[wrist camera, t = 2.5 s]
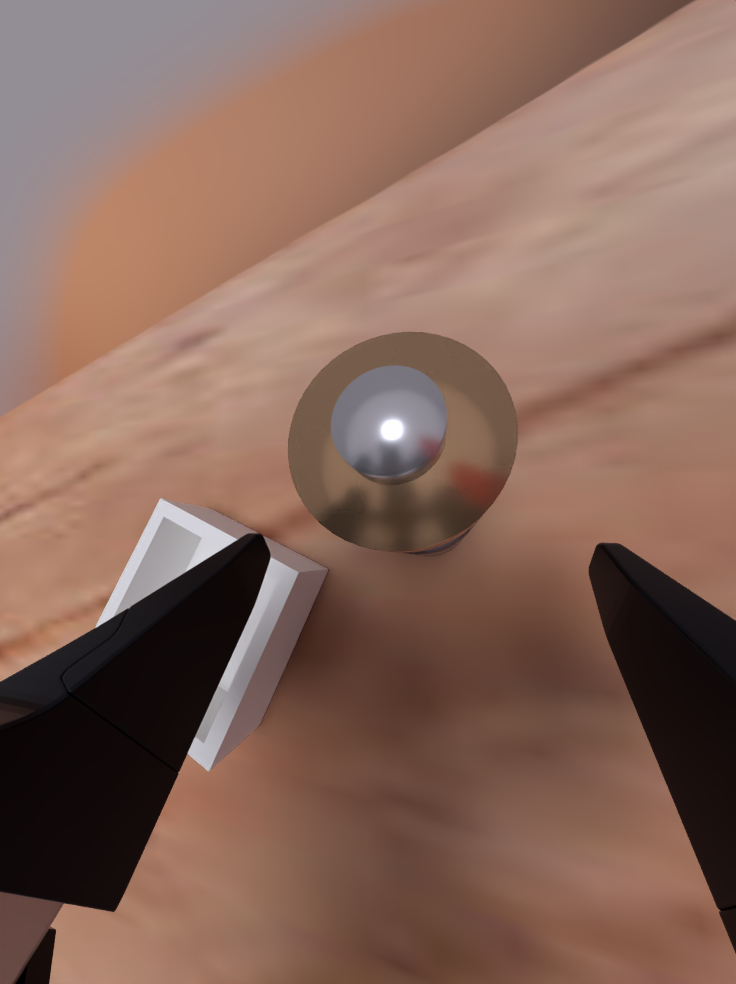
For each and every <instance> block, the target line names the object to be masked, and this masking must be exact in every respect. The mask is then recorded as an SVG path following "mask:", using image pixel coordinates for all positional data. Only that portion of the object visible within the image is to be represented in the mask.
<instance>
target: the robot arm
mask: <svg viewBox="0 0 736 984" xmlns="http://www.w3.org/2000/svg"><path fill="white" fill-rule="evenodd" d="M270 558H271V554H270V550H269V548H268V546H267V543H266V541H265V539H264V536H263V535H262V534H260V533H248V534H246V535H244V536H243V537H241V538H239V539H238V540H236V541H235V542H233V543H231V544H230V545H228V546H227V547H225V548H223V549H222V550H220V551H219V552H217V553H215V554H214V555H212V556H210V557H209V558H207V559H206V560H204V561H202V562H201V563H199V564H198V565H196V566H194V567H193V568H191V569H190V570H188V571H186V572H185V573H183V574H182V575H180V576H178V577H177V578H175V579H174V580H172V581H170V582H169V583H167V584H166V585H164V586H162V587H161V588H159V589H158V590H156V591H154V592H153V593H151V594H150V595H148V596H146V597H145V598H143V599H142V600H140V601H138V602H137V603H135V604H134V605H132V606H131V607H130V608H127V609H125V610H124V611H122V612H121V613H119V614H117V615H116V616H114V617H113V618H111V619H109V620H108V621H106V622H104V623H103V624H101V625H99V626H98V627H96V628H95V629H93V630H91V631H90V632H88V633H86V634H84V635H83V636H81V637H79V638H77V639H76V640H74V641H72V642H70V643H69V644H67V645H65V646H63V647H62V648H60V649H58V650H56V651H54V652H53V653H51V654H49V655H47V656H46V657H44V658H42V659H40V660H38V661H37V662H35V663H33V664H31V665H29V666H28V667H26V668H24V669H22V670H21V671H19V672H17V673H15V674H13V675H12V676H10V677H8V678H6V679H5V680H3V681H1V682H0V984H49V980H50V972H51V965H52V957H53V950H54V942H55V934H56V929H54V928H52V927H50V926H51V924H52V923H53V921H54V919H55V918H56V916H57V914H58V913H59V911H60V909H61V908H62V906H63V904H64V903H65V904H71V905H77V906H82V907H88V908H94V909H99V910H105V911H111V912H114V911H115V910H116V908H117V907H118V905H119V903H120V901H121V899H122V897H123V895H124V893H125V891H126V888H127V886H128V884H129V882H130V880H131V877H132V875H133V873H134V871H135V869H136V866H137V864H138V862H139V860H140V857H141V855H142V853H143V851H144V849H145V846H146V844H147V842H148V840H149V838H150V835H151V833H152V831H153V829H154V827H155V824H156V822H157V820H158V818H159V816H160V813H161V811H162V809H163V807H164V805H165V802H166V800H167V798H168V796H169V794H170V791H171V789H172V787H173V785H174V783H175V780H176V778H177V776H178V772H179V771H180V769H181V767H182V765H183V762H184V760H185V758H186V756H187V754H188V751H189V749H190V747H191V745H192V743H193V740H194V738H195V736H196V734H197V732H198V729H199V727H200V725H201V723H202V721H203V718H204V716H205V714H206V712H207V710H208V707H209V705H210V703H211V701H212V699H213V696H214V694H215V692H216V690H217V688H218V685H219V683H220V681H221V679H222V676H223V674H224V672H225V670H226V668H227V665H228V663H229V661H230V659H231V657H232V654H233V652H234V650H235V648H236V646H237V643H238V641H239V639H240V637H241V635H242V632H243V630H244V628H245V626H246V624H247V621H248V619H249V617H250V615H251V613H252V610H253V608H254V606H255V603H256V600H257V598H258V595H259V592H260V589H261V586H262V583H263V580H264V577H265V574H266V571H267V568H268V565H269V562H270ZM589 577H590V581H591V584H592V588H593V592H594V595H595V599H596V602H597V606H598V610H599V613H600V617H601V620H602V624H603V627H604V631H605V634H606V637H607V640H608V642H609V645H610V647H611V650H612V652H613V655H614V657H615V660H616V662H617V665H618V667H619V669H620V672H621V674H622V677H623V679H624V682H625V684H626V686H627V689H628V691H629V694H630V696H631V699H632V701H633V704H634V706H635V708H636V711H637V713H638V716H639V718H640V721H641V723H642V725H643V728H644V730H645V733H646V735H647V738H648V740H649V742H650V745H651V747H652V750H653V752H654V755H655V757H656V760H657V762H658V764H659V767H660V769H661V772H662V774H663V777H664V779H665V781H666V784H667V786H668V789H669V791H670V794H671V796H672V799H673V801H674V803H675V806H676V808H677V811H678V813H679V816H680V818H681V820H682V823H683V825H684V828H685V830H686V833H687V835H688V837H689V840H690V842H691V845H692V847H693V850H694V852H695V855H696V857H697V859H698V862H699V864H700V867H701V869H702V872H703V874H704V876H705V879H706V881H707V884H708V886H709V889H710V891H711V894H712V896H713V898H714V901H715V903H716V906H717V908H718V909H719V910H721V911H719V914H720V916H721V919H722V921H723V924H724V926H725V928H726V931H727V933H728V936H729V938H730V941H731V943H732V946H733V948H734V950H735V953H736V621H735V620H734V619H732V618H731V617H729V616H728V615H726V614H725V613H723V612H722V611H720V610H719V609H717V608H716V607H714V606H713V605H711V604H710V603H708V602H707V601H705V600H704V599H702V598H701V597H699V596H698V595H696V594H695V593H693V592H692V591H690V590H689V589H687V588H686V587H684V586H683V585H681V584H680V583H678V582H677V581H675V580H674V579H672V578H671V577H669V576H668V575H666V574H665V573H663V572H662V571H660V570H659V569H657V568H656V567H654V566H653V565H651V564H650V563H648V562H647V561H645V560H644V559H642V558H641V557H639V556H638V555H636V554H635V553H633V552H632V551H630V550H629V549H627V548H626V547H624V546H623V545H621V544H618V543H599V544H598V545H597V546H596V548H595V551H594V554H593V556H592V559H591V562H590V565H589Z"/></svg>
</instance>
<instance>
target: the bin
mask: <svg viewBox="0 0 736 984" xmlns="http://www.w3.org/2000/svg"><path fill="white" fill-rule="evenodd" d="M248 533H257V532H255V531H253V530H252V529H250V528H248V527H246V526H244V525H242V524H240V523H238V522H236V521H234V520H232V519H230V518H228V517H226V516H224V515H222V514H220V513H218V512H216V511H215V510H213V509H210V508H205V507H201V506H196V505H191V504H186V503H181V502H176V501H172V500H167V499H162V498H160V500H159V502H158V504H157V506H156V508H155V510H154V512H153V514H152V516H151V518H150V520H149V522H148V524H147V526H146V528H145V530H144V532H143V534H142V536H141V538H140V540H139V542H138V544H137V546H136V548H135V550H134V552H133V554H132V556H131V558H130V560H129V562H128V564H127V566H126V568H125V570H124V572H123V574H122V575H121V577H120V579H119V581H118V583H117V585H116V587H115V589H114V591H113V593H112V595H111V597H110V599H109V601H108V603H107V605H106V607H105V609H104V611H103V613H102V615H101V617H100V619H99V621H98V623H97V625H96V627H98V626H99V625H101V624H103V623H104V622H106V621H108V620H109V619H111V618H113V617H114V616H116V615H117V614H119V613H121V612H122V611H124V610H125V609H127V608H130V607H131V606H132V605H134V604H135V603H137V602H138V601H140V600H142V599H143V598H145V597H146V596H148V595H150V594H151V593H153V592H154V591H156V590H158V589H159V588H161V587H162V586H164V585H166V584H167V583H169V582H170V581H172V580H174V579H175V578H177V577H178V576H180V575H182V574H183V573H185V572H186V571H188V570H190V569H191V568H193V567H194V566H196V565H198V564H199V563H201V562H202V561H204V560H206V559H207V558H209V557H210V556H212V555H214V554H215V553H217V552H219V551H220V550H222V549H223V548H225V547H227V546H228V545H230V544H231V543H233V542H235V541H236V540H238V539H239V538H241V537H243V536H244V535H246V534H248ZM264 539H265V541H266V543H267V546H268V548H269V550H270V554H271V558H270V562H269V565H268V568H267V571H266V574H265V577H264V580H263V583H262V586H261V589H260V592H259V595H258V598H257V600H256V603H255V606H254V608H253V610H252V613H251V615H250V617H249V619H248V621H247V624H246V626H245V628H244V630H243V632H242V635H241V637H240V639H239V641H238V643H237V646H236V648H235V650H234V652H233V654H232V657H231V659H230V661H229V663H228V665H227V668H226V670H225V672H224V674H223V676H222V679H221V681H220V683H219V685H218V688H217V690H216V692H215V694H214V696H213V699H212V701H211V703H210V705H209V707H208V710H207V712H206V714H205V716H204V718H203V721H202V723H201V725H200V727H199V729H198V732H197V734H196V736H195V738H194V740H193V743H192V745H191V747H190V749H189V751H188V754H189V755H190V756H191V757H192V758H193V759H194V760H196V761H197V762H198V763H199V764H200V765H201V766H203V767H204V768H205V769H206V770H207V771H210V770H211V769H212V768H213V767H215V766H216V765H217V764H218V763H219V762H220V761H221V760H222V759H223V758H225V757H226V756H227V755H228V754H229V753H230V752H231V751H232V750H233V749H235V748H236V747H237V746H238V745H239V744H240V743H241V742H242V741H243V740H245V739H246V738H247V737H248V736H249V735H250V734H251V733H252V732H253V731H255V730H256V729H257V728H258V727H259V726H260V724H261V721H262V719H263V717H264V715H265V712H266V710H267V708H268V706H269V703H270V701H271V699H272V696H273V694H274V692H275V690H276V687H277V685H278V683H279V681H280V678H281V676H282V674H283V672H284V669H285V667H286V665H287V663H288V660H289V658H290V656H291V654H292V651H293V649H294V647H295V645H296V642H297V640H298V638H299V636H300V633H301V631H302V629H303V627H304V624H305V622H306V620H307V618H308V615H309V613H310V611H311V609H312V606H313V604H314V602H315V600H316V597H317V595H318V593H319V591H320V588H321V586H322V584H323V582H324V579H325V577H326V575H327V572H328V570H329V569H327V568H326V567H324V566H322V565H320V564H318V563H316V562H314V561H312V560H310V559H308V558H306V557H304V556H302V555H300V554H298V553H296V552H294V551H292V550H290V549H289V548H287V547H285V546H283V545H281V544H279V543H277V542H275V541H273V540H271V539H269V538H267V537H265V536H264ZM96 627H95V628H96Z"/></svg>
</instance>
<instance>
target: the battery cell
mask: <svg viewBox="0 0 736 984" xmlns="http://www.w3.org/2000/svg"><path fill="white" fill-rule="evenodd" d="M517 443H518V425H517V418H516V411H515V408H514V405H513V401H512V398H511V396H510V393H509V391H508V389H507V387H506V385H505V383H504V382H503V380H502V379H501V377H500V376H499V374H498V373H497V371H496V370H495V369H494V368H493V367H492V366H491V365H490V364H489V363H488V361H486V360H485V359H484V358H483V357H482V356H480V355H479V354H478V353H477V352H475V351H474V350H472V349H470V348H469V347H467V346H466V345H464V344H462V343H459V342H457V341H455V340H453V339H450V338H447V337H443V336H440V335H436V334H430V333H423V332H401V333H392V334H387V335H382V336H379V337H375V338H372V339H369V340H366V341H364V342H362V343H360V344H357V345H355V346H353V347H352V348H350V349H348V350H346V351H345V352H343V353H342V354H340V355H339V356H337V357H336V358H335V359H333V360H332V361H331V362H330V363H329V364H328V365H326V366H325V367H324V368H323V369H322V370H321V371H320V372H319V374H318V375H317V376H316V377H315V378H314V379H313V380H312V382H311V383H310V385H309V386H308V388H307V389H306V390H305V392H304V394H303V396H302V398H301V399H300V401H299V403H298V406H297V408H296V411H295V413H294V416H293V420H292V423H291V427H290V433H289V439H288V458H289V467H290V471H291V476H292V480H293V482H294V485H295V488H296V490H297V493H298V494H299V496H300V498H301V500H302V502H303V503H304V505H305V506H306V508H307V509H308V510H309V512H310V513H311V514H312V515H313V516H314V517H315V518H316V519H317V520H318V521H319V522H320V523H321V524H322V525H323V526H324V527H325V528H327V529H328V530H329V531H331V532H332V533H333V534H335V535H337V536H339V537H341V538H342V539H344V540H346V541H348V542H351V543H354V544H356V545H359V546H362V547H366V548H370V549H375V550H383V551H392V552H401V553H410V554H418V555H428V556H432V555H439V554H443V553H445V552H448V551H450V550H451V549H453V548H454V547H455V546H456V545H458V543H459V542H460V541H461V540H462V539H463V538H464V537H465V535H466V534H467V533H468V532H469V531H470V529H471V528H472V527H473V526H474V525H475V524H476V522H477V521H478V520H479V519H480V518H481V517H482V515H483V514H484V513H485V512H486V511H487V510H488V508H489V507H490V506H491V505H492V504H493V502H494V501H495V500H496V498H497V497H498V495H499V494H500V492H501V491H502V489H503V487H504V485H505V483H506V481H507V479H508V477H509V475H510V472H511V469H512V466H513V463H514V460H515V455H516V449H517Z"/></svg>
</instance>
